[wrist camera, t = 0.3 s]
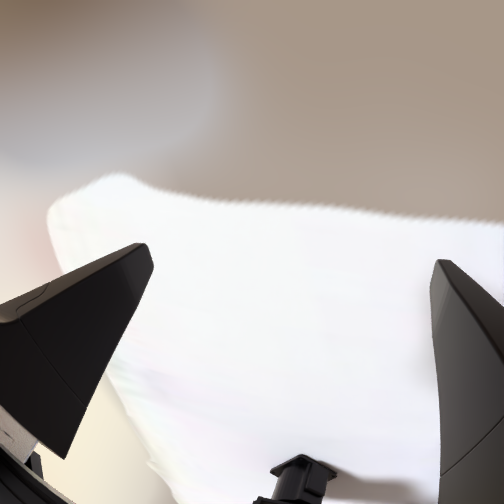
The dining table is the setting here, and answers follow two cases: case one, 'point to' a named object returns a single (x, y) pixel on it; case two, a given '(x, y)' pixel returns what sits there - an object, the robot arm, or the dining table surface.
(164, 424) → the dining table surface
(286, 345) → the dining table surface
